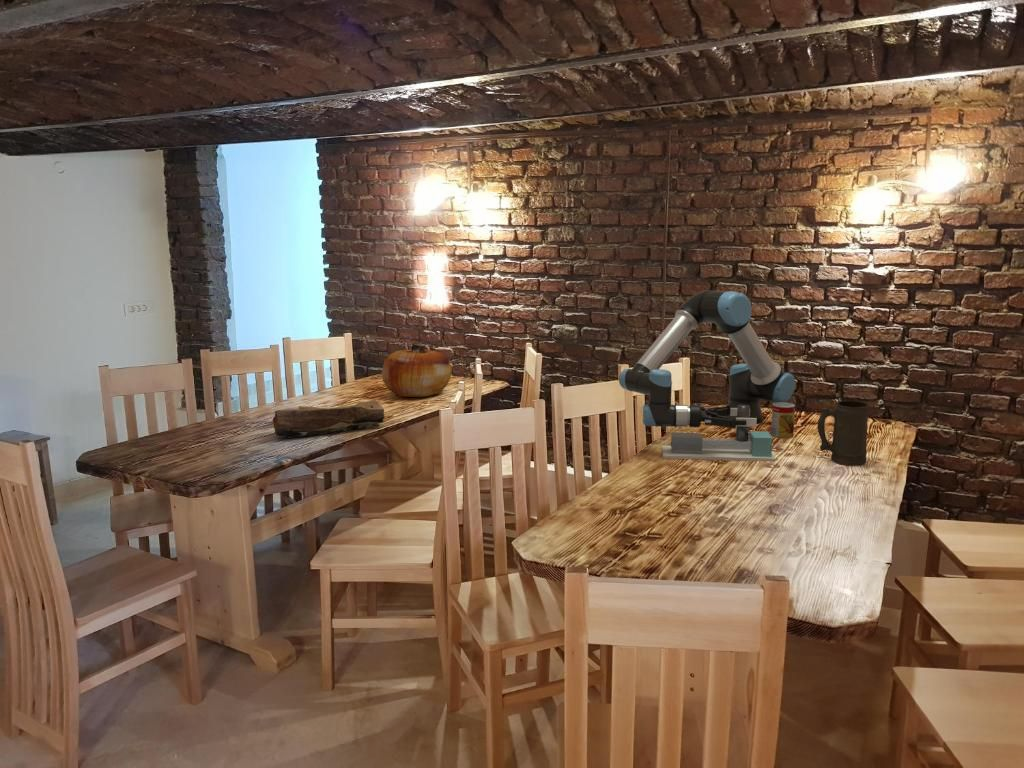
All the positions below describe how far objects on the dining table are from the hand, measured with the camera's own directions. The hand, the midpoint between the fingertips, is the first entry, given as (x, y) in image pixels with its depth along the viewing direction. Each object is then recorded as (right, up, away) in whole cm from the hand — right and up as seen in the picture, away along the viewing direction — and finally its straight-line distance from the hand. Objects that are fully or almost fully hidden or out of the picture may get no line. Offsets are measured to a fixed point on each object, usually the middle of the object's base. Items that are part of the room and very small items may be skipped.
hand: (753, 417), depth 249 cm
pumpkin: (-127, +6, +108) cm, 167 cm away
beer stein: (+27, -15, -5) cm, 31 cm away
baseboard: (-11, -13, +5) cm, 18 cm away
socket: (+3, -12, +2) cm, 13 cm away
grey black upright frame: (-7, -11, +3) cm, 13 cm away
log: (-154, -8, +45) cm, 161 cm away
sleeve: (-21, -12, +6) cm, 25 cm away
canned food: (+19, -8, +26) cm, 33 cm away
